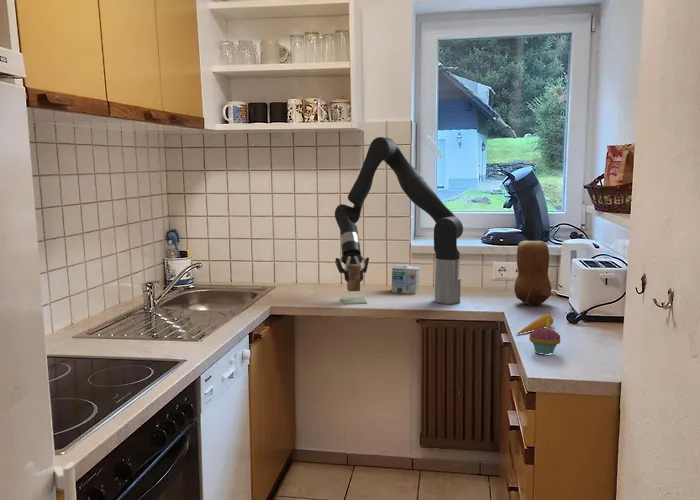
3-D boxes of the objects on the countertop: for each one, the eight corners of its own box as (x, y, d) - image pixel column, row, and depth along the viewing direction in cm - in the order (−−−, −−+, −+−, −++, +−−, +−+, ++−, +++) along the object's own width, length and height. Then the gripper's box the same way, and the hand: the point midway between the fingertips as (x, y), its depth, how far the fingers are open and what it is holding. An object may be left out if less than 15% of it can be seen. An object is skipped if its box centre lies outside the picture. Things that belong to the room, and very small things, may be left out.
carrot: (546, 327, 200) (541, 314, 200) (557, 324, 196) (552, 311, 197) (510, 344, 187) (505, 330, 188) (522, 342, 184) (517, 328, 184)
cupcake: (535, 346, 175) (537, 307, 174) (564, 352, 170) (566, 311, 168) (524, 353, 169) (525, 312, 167) (553, 360, 163) (555, 317, 162)
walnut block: (358, 288, 235) (358, 263, 233) (360, 291, 230) (360, 265, 229) (347, 288, 234) (347, 263, 233) (348, 291, 230) (348, 266, 228)
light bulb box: (391, 292, 249) (391, 267, 247) (394, 289, 255) (395, 264, 254) (416, 294, 246) (416, 268, 244) (419, 290, 252) (419, 266, 251)
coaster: (363, 298, 238) (363, 297, 238) (366, 303, 229) (366, 302, 229) (341, 299, 237) (341, 297, 236) (343, 304, 228) (343, 302, 228)
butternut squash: (530, 299, 237) (532, 237, 233) (557, 305, 225) (561, 240, 222) (505, 303, 229) (508, 239, 226) (533, 310, 218) (536, 243, 214)
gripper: (333, 240, 236) (336, 275, 226) (369, 239, 238) (373, 275, 227) (332, 251, 242) (335, 286, 232) (366, 250, 244) (371, 285, 233)
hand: (354, 280), depth 230 cm, fingers closed on walnut block, 4 cm apart
